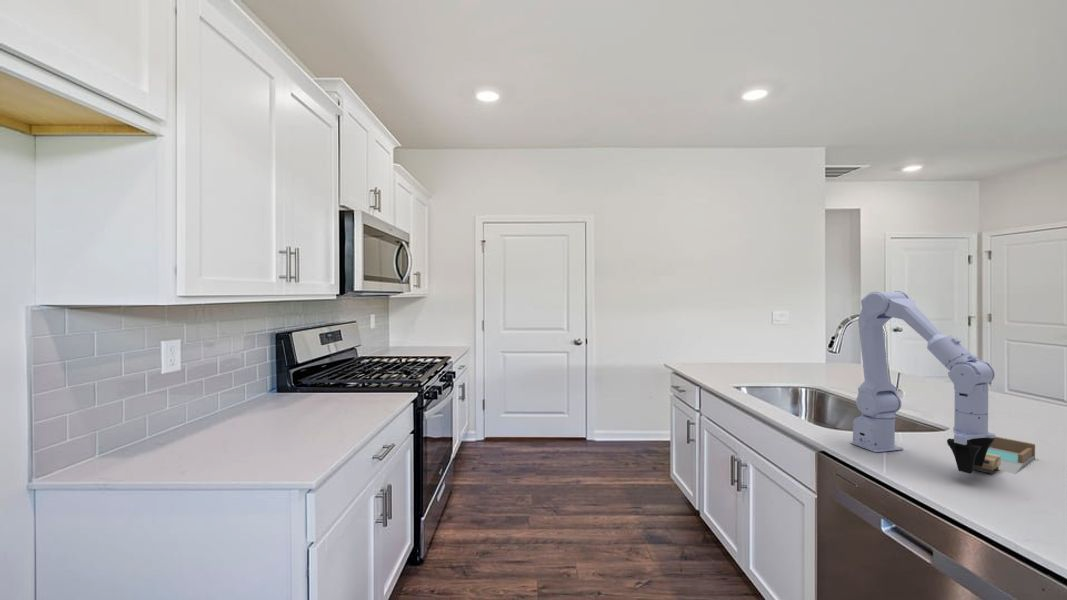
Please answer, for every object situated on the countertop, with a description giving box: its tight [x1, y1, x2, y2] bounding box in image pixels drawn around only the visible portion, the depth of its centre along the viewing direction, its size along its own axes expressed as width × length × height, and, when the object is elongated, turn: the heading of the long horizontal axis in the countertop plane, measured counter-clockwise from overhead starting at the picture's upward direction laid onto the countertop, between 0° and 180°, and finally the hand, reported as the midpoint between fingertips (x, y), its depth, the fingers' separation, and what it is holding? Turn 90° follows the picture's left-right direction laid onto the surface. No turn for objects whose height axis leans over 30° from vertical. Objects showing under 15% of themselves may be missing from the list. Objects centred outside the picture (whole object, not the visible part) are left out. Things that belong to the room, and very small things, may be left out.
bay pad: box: [987, 449, 1018, 462], centre depth 117 cm, size 7×8×1 cm
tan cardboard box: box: [973, 453, 1001, 475], centre depth 110 cm, size 6×5×3 cm
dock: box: [988, 435, 1036, 475], centre depth 116 cm, size 18×10×5 cm, turn 121°
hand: (970, 468), depth 106 cm, fingers open, 7 cm apart
